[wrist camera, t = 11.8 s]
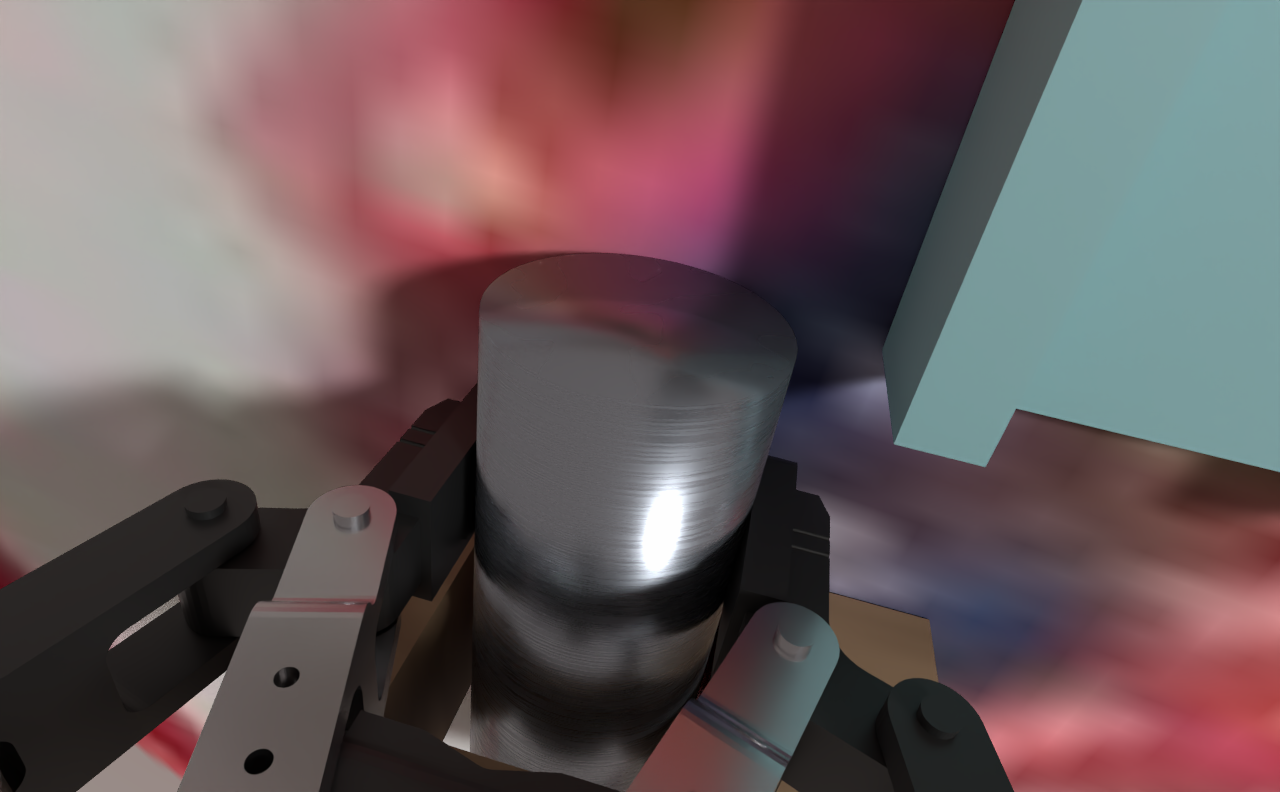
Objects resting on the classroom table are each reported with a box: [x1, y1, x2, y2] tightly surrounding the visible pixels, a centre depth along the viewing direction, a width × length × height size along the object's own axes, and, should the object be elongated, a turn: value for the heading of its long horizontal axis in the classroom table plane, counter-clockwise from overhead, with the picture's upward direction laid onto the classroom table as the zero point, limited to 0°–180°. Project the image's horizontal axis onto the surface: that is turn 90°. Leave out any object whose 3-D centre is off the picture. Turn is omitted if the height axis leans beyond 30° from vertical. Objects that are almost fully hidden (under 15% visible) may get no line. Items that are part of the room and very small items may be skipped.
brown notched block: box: [384, 533, 938, 792], centre depth 15 cm, size 5×12×7 cm, turn 81°
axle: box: [470, 253, 798, 792], centre depth 15 cm, size 14×5×5 cm, turn 172°
